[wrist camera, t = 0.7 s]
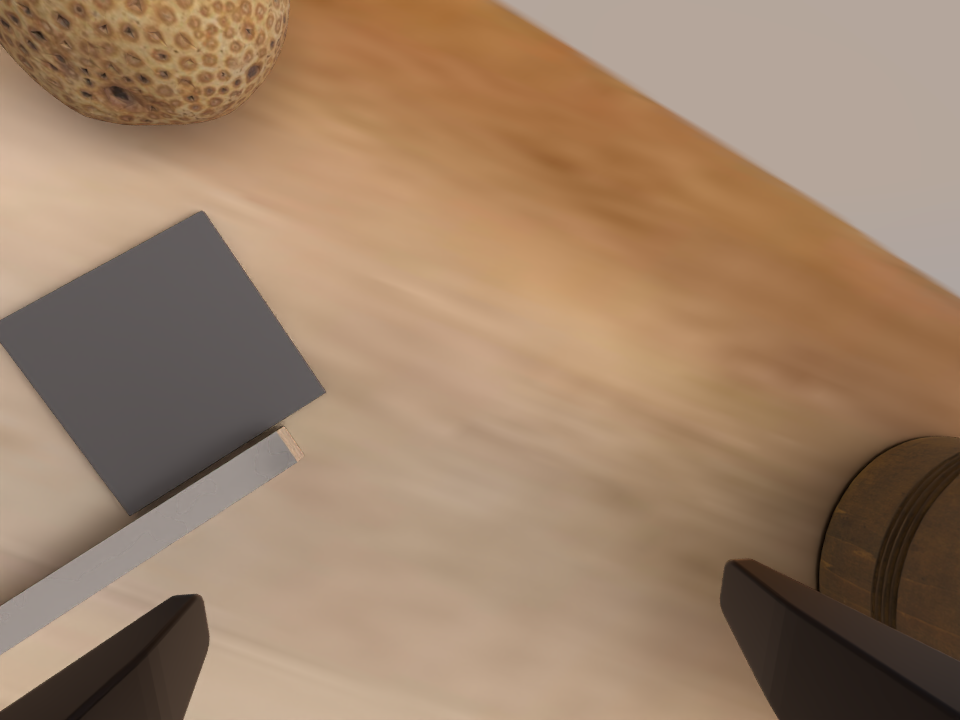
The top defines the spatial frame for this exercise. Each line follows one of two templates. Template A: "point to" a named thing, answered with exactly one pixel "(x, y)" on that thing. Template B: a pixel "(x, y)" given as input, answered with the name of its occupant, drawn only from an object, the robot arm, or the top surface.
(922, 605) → the wooden container
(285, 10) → the natural sponge
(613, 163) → the top surface
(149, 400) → the grey square plate
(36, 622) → the steel straightedge
